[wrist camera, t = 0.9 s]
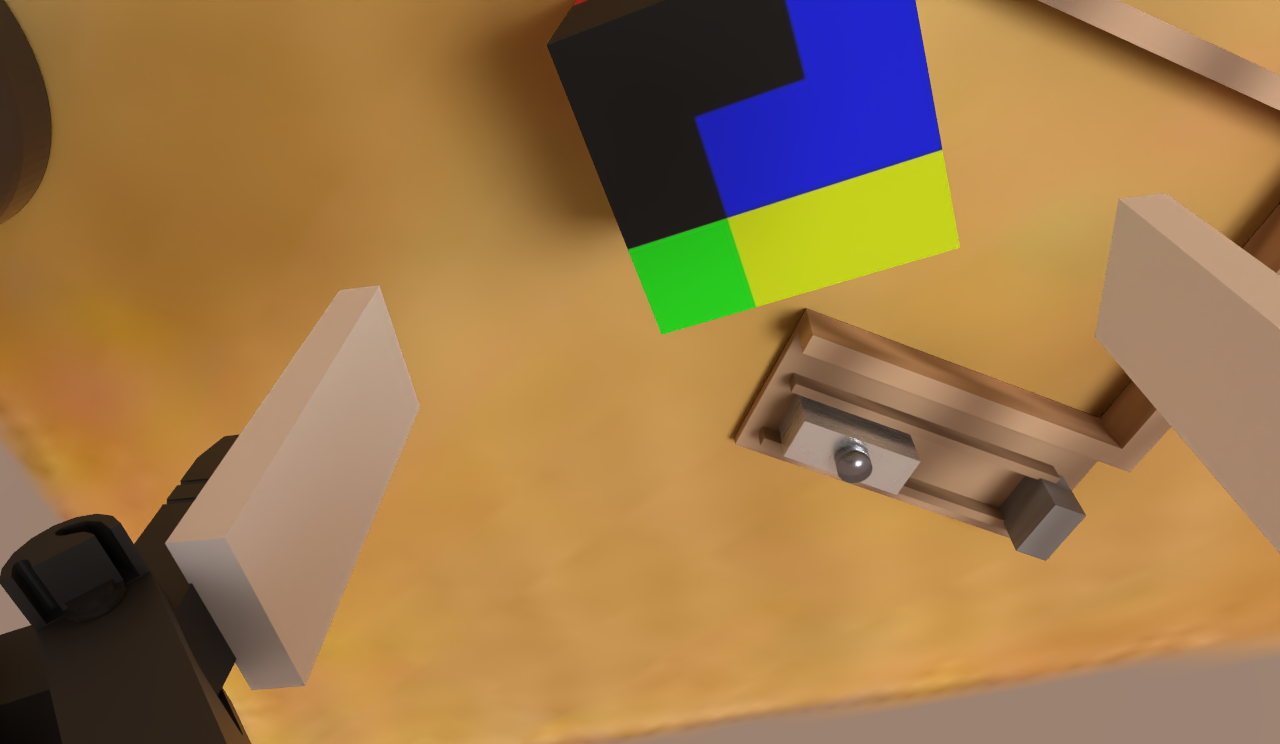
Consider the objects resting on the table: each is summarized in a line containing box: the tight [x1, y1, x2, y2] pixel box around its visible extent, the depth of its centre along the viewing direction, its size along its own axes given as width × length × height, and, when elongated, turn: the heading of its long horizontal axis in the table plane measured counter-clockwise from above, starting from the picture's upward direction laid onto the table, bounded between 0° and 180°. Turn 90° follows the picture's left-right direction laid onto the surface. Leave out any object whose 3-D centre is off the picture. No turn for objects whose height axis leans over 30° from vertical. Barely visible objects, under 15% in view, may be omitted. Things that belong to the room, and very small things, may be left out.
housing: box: [735, 0, 1280, 561], centre depth 37 cm, size 17×24×4 cm
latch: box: [779, 395, 921, 495], centre depth 41 cm, size 6×2×3 cm, turn 69°
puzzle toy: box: [547, 0, 960, 334], centre depth 30 cm, size 10×10×10 cm
